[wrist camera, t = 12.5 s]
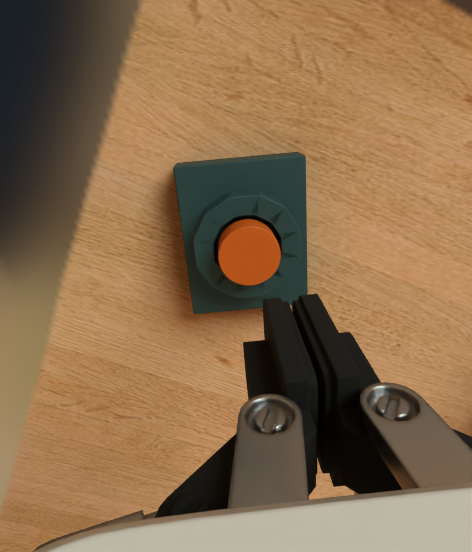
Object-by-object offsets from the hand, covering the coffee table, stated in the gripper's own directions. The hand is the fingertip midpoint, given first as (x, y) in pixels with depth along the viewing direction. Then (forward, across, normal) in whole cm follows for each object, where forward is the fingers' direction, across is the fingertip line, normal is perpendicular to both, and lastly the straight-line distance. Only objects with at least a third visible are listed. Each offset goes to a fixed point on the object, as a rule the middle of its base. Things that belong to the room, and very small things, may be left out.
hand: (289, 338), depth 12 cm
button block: (+16, 0, +2) cm, 16 cm away
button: (+12, 0, +1) cm, 12 cm away
